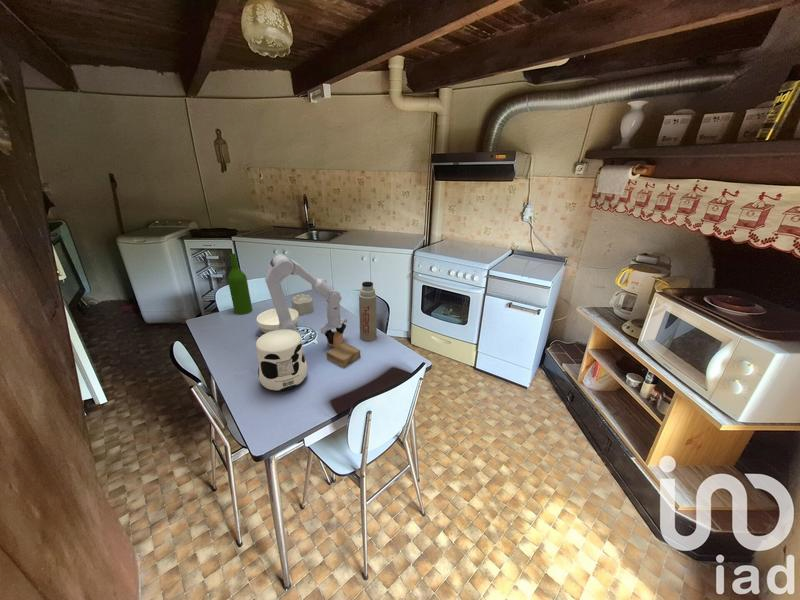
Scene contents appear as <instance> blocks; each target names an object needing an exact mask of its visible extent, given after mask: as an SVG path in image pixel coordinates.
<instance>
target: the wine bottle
mask: <svg viewBox="0 0 800 600" xmlns="http://www.w3.org/2000/svg"><path fill="white" fill-rule="evenodd" d="M237 258H238V257H237V253H230V254H229V259H230V266H231V270H230V271H229V273H228V276H227V282H228V287H229V292H230V297H231V301H232V306H233V311H234V314H236V315H238V316H240V315H243V316H244V315H247V314H251V312H252V311H253V305H252V300H251V295H250V288H249V284H248V283H249V282H248V279H247V278H248V277H247V275H246V274H245V273H244V271H242V270H241V269H240V268H239V263H238V259H237Z"/></svg>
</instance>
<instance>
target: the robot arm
mask: <svg viewBox="0 0 800 600" xmlns="http://www.w3.org/2000/svg"><path fill="white" fill-rule="evenodd" d="M290 275H292V276H299V277H300V278H302V279H303V280H304V281H306V282H307V283H309V284H310V285H311V289H312V290H313V291H314V292H316V293H317V294H318V295H319V296H321V297H322V298H324V299H326V301H325V302H326V303H325V304H326V318H327V320H326V321H327V323H326V324H325V325H324V326H323V327H322V328H320V333H321V334H322V335H324V336H325V338H326V340H328V342H329V344H331V345H332V344H333V336H334V332H333V331H332V330H333V329H336V330H335V331H337V332H339V333H342V334H343V335H344V331H345V330H346V328H347V325H346V323H348V318H346V317H341V305H340V304H341V301H342V298H343V297H342V296H341V292H339V291H337V290H336V289H335V286H333V285H330V284H329V283H328V282H327V279H325V278H321V277H319V278H318V277H315V276H314V275H313V274H312V273H311V272H309V270H306V268H304V267H303V266H302V265H301V264H300V263H298V262H296V261H295V260H293V258H290V257H287V255H286V254H284V253H276V254H275V255H273V256H272V258H271V259H270V260H269V262H268V268H267V271H266V275H265V279H264V281H265V283H266V286H267V289H268V292H269V295H270V298H271V300H272V303H273V306H274V308H275V310H276V313H277V315H278V318H279V319H278V320H279V330H282V329H287V330H293V331H296V332H298V333H299V334H300V332H299V330H298V328H297V326H296V327H295V325H294V323H293V321H292V319H291V316H290V313H289V310H288V308H289V307H288V303H287V301H286V297H285V294H284V291H283V288H282V285H281V284H282V281H283V280H284V279H286V278H287V277H288V276H290ZM328 342H327V343H328ZM305 355H306V353H304V352H303V356H304V357H305Z"/></svg>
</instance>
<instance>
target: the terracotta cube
mask: <svg viewBox="0 0 800 600" xmlns="http://www.w3.org/2000/svg"><path fill="white" fill-rule="evenodd" d="M332 332H334V336H333V344H332V345H331V344H329V342H328V340H327V339H326V340H327V345H328V346H330V347H332V348H335V347H337V346H338V345H340V344H342V343H344V333H343V334H342V333H339V332H337V331H336V330H333V331H332Z"/></svg>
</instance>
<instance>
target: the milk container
mask: <svg viewBox="0 0 800 600" xmlns="http://www.w3.org/2000/svg"><path fill="white" fill-rule="evenodd" d="M300 334H301V333H300V332H299V333H298V332H296V331H293V330H287V329H282V330H275V331H271V332H268V333H266V334H265V333H264V334H262V335H260V337H258V339H257V340H256V342H255V344H256V346H255V347H256V355H257V360H258V369H257V375H258V379H259V381H260V384H261V385H262V386H263V387H264V389H267V390H270V391H277V392H278V391H279V392H280V391H287V390H289V389H294V388H295V387H297V386H299V385H300V384H301V383H302V382H303V381H304V380H305V378H306V377H307V375H308V364H307V361H306V358H305V355H304V356H303V353H304V351H303V350H304V348H303V347H304V346H303V341H302V337H301V335H300Z"/></svg>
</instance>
